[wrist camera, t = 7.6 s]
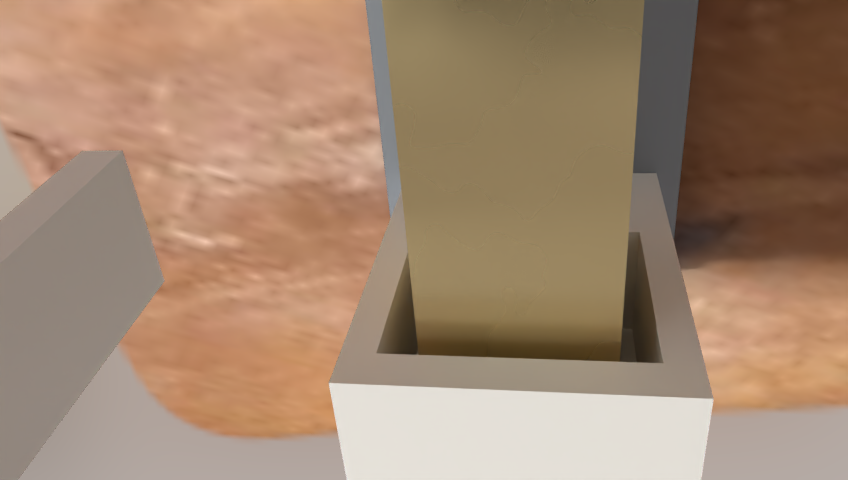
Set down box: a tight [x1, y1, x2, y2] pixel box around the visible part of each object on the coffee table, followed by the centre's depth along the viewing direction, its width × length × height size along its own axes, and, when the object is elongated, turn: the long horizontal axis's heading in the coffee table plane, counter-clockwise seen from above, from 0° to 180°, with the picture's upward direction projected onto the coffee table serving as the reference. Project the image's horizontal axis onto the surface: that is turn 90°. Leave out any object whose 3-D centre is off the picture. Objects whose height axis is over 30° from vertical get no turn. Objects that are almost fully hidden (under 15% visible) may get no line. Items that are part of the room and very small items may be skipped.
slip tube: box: [382, 0, 644, 362], centre depth 15 cm, size 18×4×4 cm, turn 4°
